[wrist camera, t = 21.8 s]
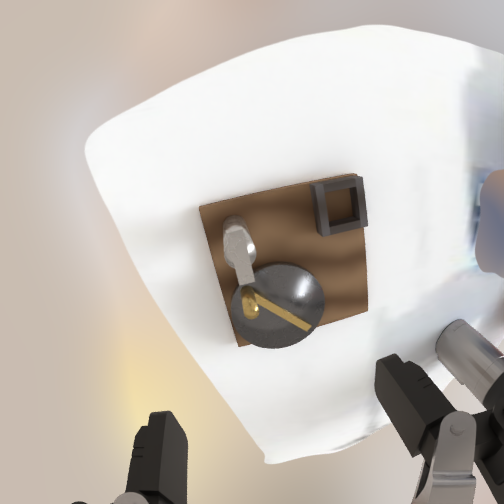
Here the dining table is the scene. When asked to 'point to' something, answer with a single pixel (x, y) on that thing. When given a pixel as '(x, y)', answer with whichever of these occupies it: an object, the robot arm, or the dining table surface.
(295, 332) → the handwheel
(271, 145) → the dining table surface
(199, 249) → the dining table surface
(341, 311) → the board
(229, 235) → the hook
